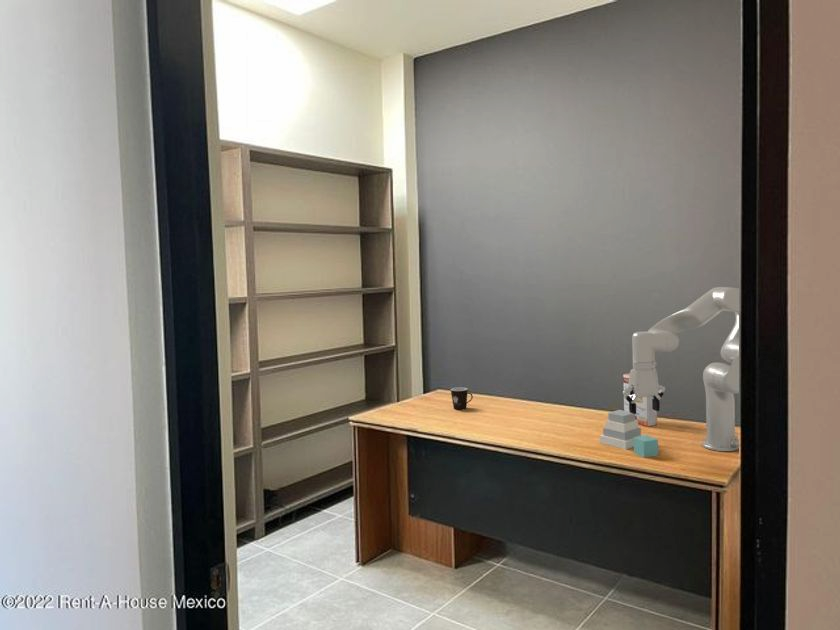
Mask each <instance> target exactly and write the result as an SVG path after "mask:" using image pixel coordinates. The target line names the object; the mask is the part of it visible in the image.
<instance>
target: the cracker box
mask: <svg viewBox="0 0 840 630" xmlns="http://www.w3.org/2000/svg"><path fill="white" fill-rule="evenodd" d="M629 376H630V372H629V373H625V374H623V375H622V378H623V380H622V381H623V391H624V390H625V389H627V388H628V387H629ZM628 395H629V393H628ZM629 397H630V395H629ZM653 399H654V398H653V397H652V396H649V397H641V398H637V400H636V401H635V403H636V414H635V420H638V425H641V426H644V427H646V428H649V427H654V426H656V425H657V426H658V411H656V410H653V409H652V400H653ZM623 409H624V410H623V411H628V412H630V411H629V402H628V401H627V400H626V399H625V396H624V395H623Z"/></svg>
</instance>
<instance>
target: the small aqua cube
mask: <svg viewBox="0 0 840 630" xmlns="http://www.w3.org/2000/svg"><path fill="white" fill-rule="evenodd" d="M644 435H645V434H644ZM633 453H634V454H636V455H637V456H639V457H643V458H651V457H656V456H659V439H658V438H656V437H653V436H651V435H647V434H646V435H645V436H639V437H634V447H633Z"/></svg>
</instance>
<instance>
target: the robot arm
mask: <svg viewBox="0 0 840 630" xmlns="http://www.w3.org/2000/svg"><path fill="white" fill-rule="evenodd" d="M739 289H740V288H736V287H730V286H729V287H727V286H715V287H713V288H711V289H710V290H708V291H707V292H705V293H704V294H703V295H702V296H700V297H699V298H698V299H696V300H695V301H694V302H692V303H691V304H690V305H688V306H687V307H685V308H684V309H681V310H679V311H677V312H674V313H673V314H671V315H669V316H666V317H665V318H663V319H661V320H660V321H658V322H657V323H655V324H654V325H653V326H651V327H650V328H649V329H648V330H647V331H636V332H634V333H633V334H632V337H631V339H632V340H631V341H632V345H631V346H632V369H630V371H629V373H630V376H629V387H628V388H627V389H625V390H624V389H623V391H622V395H623V397H624V396H625V399H626V400H627V401H628V402H629V411H630V413H633V414H636V403H635V401H636V400H637V398H641V397H649V396H652V397H653V398H654V399H653V400H652V409H653V410H656V411H657V412H659V411H660V401H661V399H662V397H663V396H664V393H665V391H666V387H665V386H664V385H661V384H659V376H658V371H657V369H656V366H657V365H658V362H657V361H656V360H655V356H656V355H655V353H656V352H665V353H669V352H672V351H675V350H676V349H677V348H678V346H679V344H680V339H679V337H678V335H677V334H678V333H681V332H684V331H689V330H694V329H698V328H701V327H702V326H703V327H704V325H706V324H707V323H708V322H709V321H711V320H712V319H713V318H715V317H716V316H717V315H719V314H720V313H721V312H723V311H726V312H733V313H734V314H735V315H734V316H735V323H734V325H733V327H732V328H731V331H730V333H729V334H728V336H727V338H725V341H724V342H723V345H722V347H721V349H720V356H721V358H722V359H723V360H724V361H726V362H728V363H731V364H727V363H723V362H712V363H711V362H710V364H708V365H707V366H705V368H704V370H703V373H702V379H703V385H704V390H705V391H704V392H705V413H706V414H705V416H706V418H705V422H706V428H705V429H706V431H705V432H706V439H704V440H702V442H701V446H702V447H704V448H705V449H708V450H711V451H717V452H734V451H738V450H739V449H740V448H739V440H740V439H739V436H738V435H737V434H736V428H735V427H736V422H735V421H736V419H735V418H736V414H735V411H736V410H735V407H736V406H735V405H736V403H735V396H734V395H735V394H740V393H739ZM628 393H629V395H630V397H629V395H628Z"/></svg>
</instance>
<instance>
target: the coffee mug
mask: <svg viewBox="0 0 840 630" xmlns="http://www.w3.org/2000/svg"><path fill="white" fill-rule="evenodd" d="M450 394H451V400H452V405H453V406H452V407H453V409H455V411H463V410H462V409H465V410H467V404H468V403H470V402H471V401H472V400H473V398H474V397H473V394H472V393H471V392H468V388H467V387H462V386H461V387H453V388H451V389H450ZM468 394H469V395H470V397H471V398H470V399H469V400H468Z"/></svg>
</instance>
